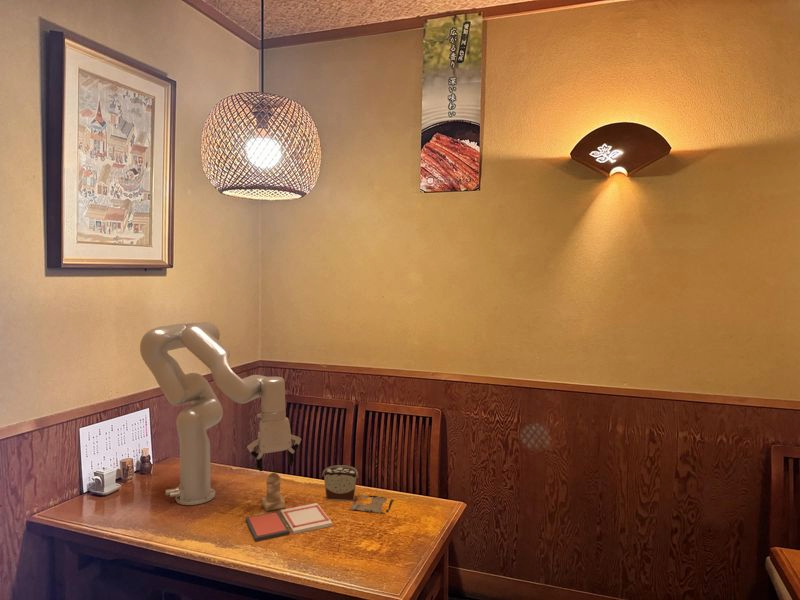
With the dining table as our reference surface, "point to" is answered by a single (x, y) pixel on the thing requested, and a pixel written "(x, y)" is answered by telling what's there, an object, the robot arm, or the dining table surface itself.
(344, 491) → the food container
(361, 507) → the parchment
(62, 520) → the dining table surface
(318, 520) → the marked board
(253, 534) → the ink pad
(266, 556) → the dining table surface
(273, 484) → the stamp
